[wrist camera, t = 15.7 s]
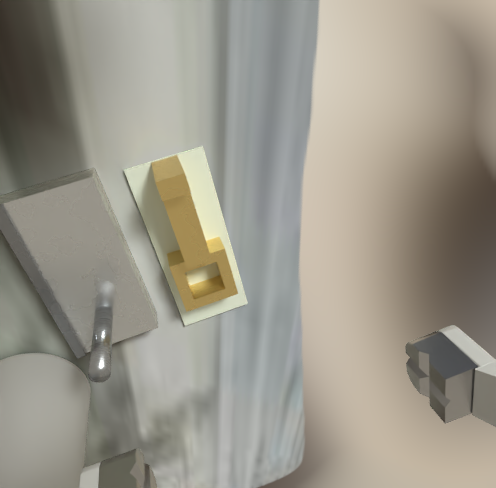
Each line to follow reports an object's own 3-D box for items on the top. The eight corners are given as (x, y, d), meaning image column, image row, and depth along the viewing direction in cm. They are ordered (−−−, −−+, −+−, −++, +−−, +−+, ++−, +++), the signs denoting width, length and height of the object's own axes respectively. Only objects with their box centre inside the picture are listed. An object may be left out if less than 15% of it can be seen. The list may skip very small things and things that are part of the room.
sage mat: (123, 169, 40) (123, 170, 40) (202, 146, 41) (202, 146, 41) (184, 323, 50) (185, 325, 50) (246, 301, 51) (247, 303, 51)
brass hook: (134, 167, 40) (135, 188, 35) (193, 149, 41) (204, 167, 35) (183, 297, 48) (190, 330, 43) (232, 280, 49) (245, 310, 43)
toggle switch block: (-2, 196, 39) (-48, 255, 28) (94, 167, 40) (84, 214, 29) (79, 338, 47) (67, 423, 37) (156, 311, 48) (165, 387, 38)
